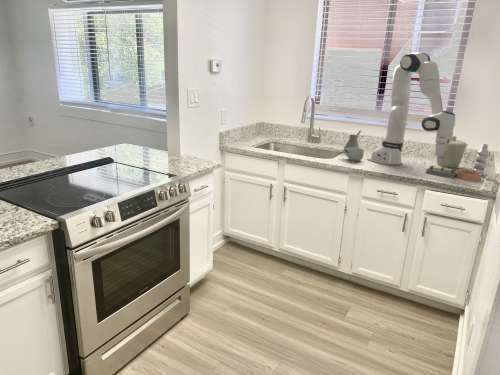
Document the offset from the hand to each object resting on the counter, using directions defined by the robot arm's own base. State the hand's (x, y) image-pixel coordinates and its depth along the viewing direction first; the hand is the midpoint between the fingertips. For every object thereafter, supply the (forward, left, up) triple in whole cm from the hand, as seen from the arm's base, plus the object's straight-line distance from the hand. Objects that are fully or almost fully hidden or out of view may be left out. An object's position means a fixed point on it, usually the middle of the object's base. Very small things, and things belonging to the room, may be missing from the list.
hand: (440, 160), depth 234 cm
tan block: (-1, 0, -8) cm, 8 cm away
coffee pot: (-62, +20, -9) cm, 66 cm away
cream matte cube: (+5, 0, -8) cm, 9 cm away
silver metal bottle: (+21, +13, -9) cm, 26 cm away
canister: (+2, +25, -9) cm, 27 cm away
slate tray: (+2, 0, -9) cm, 9 cm away
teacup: (-53, -6, -9) cm, 54 cm away
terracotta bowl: (+17, 0, -9) cm, 19 cm away
